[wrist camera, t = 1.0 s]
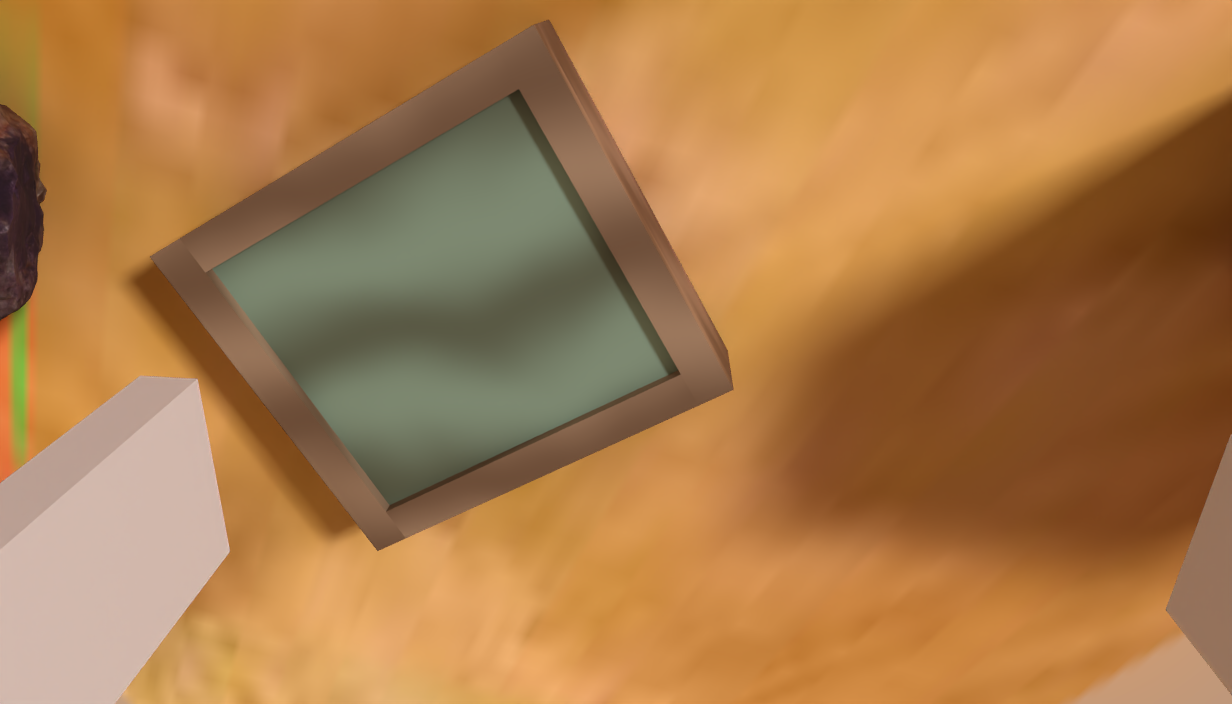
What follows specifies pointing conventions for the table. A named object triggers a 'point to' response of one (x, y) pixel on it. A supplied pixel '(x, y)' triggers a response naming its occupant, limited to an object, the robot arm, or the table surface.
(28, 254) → the rock
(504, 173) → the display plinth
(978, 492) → the table surface
